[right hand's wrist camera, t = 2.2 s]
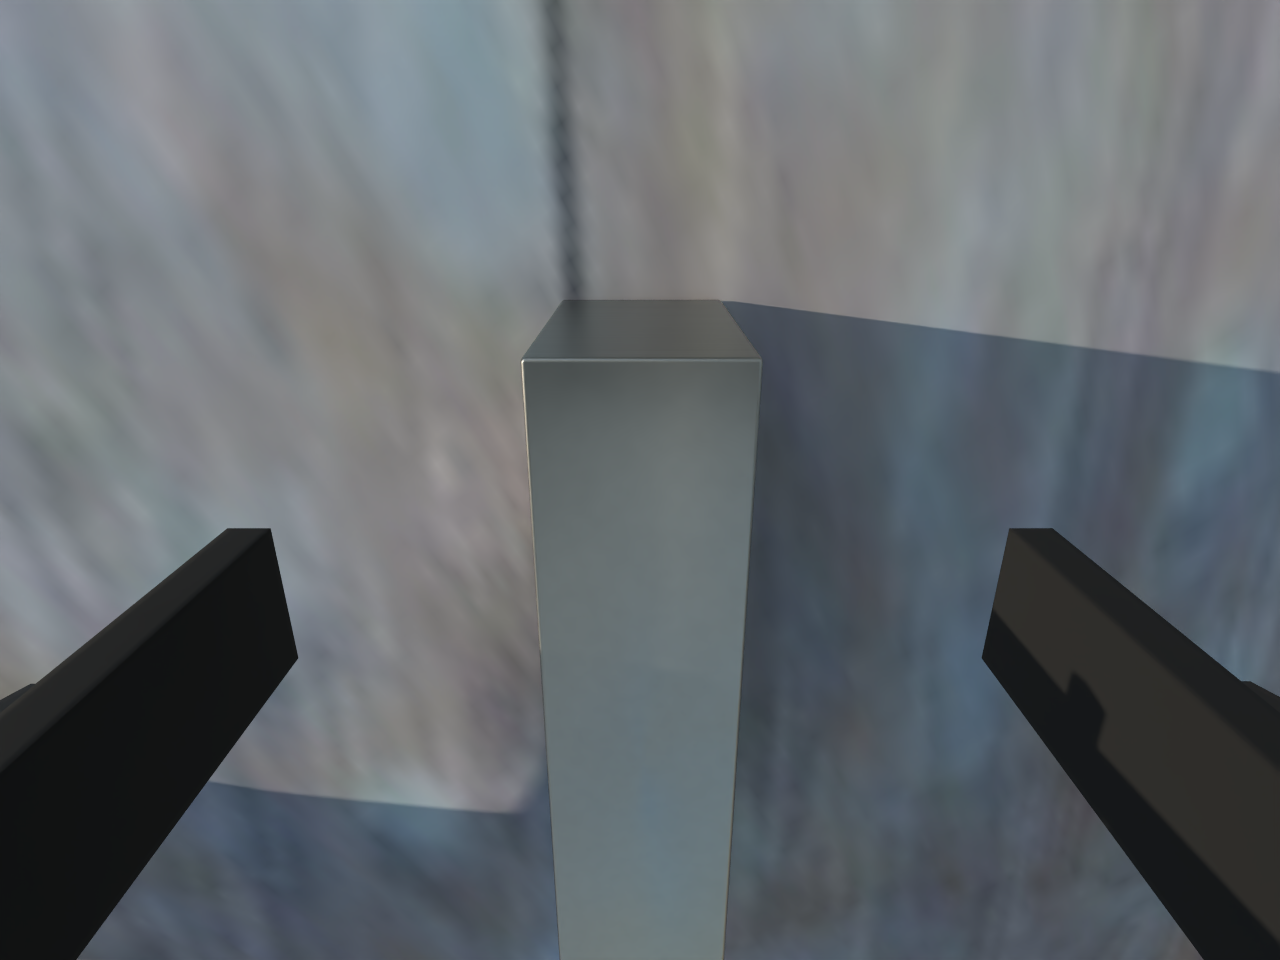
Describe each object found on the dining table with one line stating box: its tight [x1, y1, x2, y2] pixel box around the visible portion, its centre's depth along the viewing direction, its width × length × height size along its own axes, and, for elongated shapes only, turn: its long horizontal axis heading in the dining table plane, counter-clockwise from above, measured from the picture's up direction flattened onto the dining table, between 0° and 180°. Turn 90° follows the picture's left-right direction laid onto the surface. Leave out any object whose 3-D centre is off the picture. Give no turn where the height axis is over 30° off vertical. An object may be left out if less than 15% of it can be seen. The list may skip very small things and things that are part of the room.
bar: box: [521, 300, 763, 960], centre depth 24 cm, size 22×5×9 cm, turn 0°
